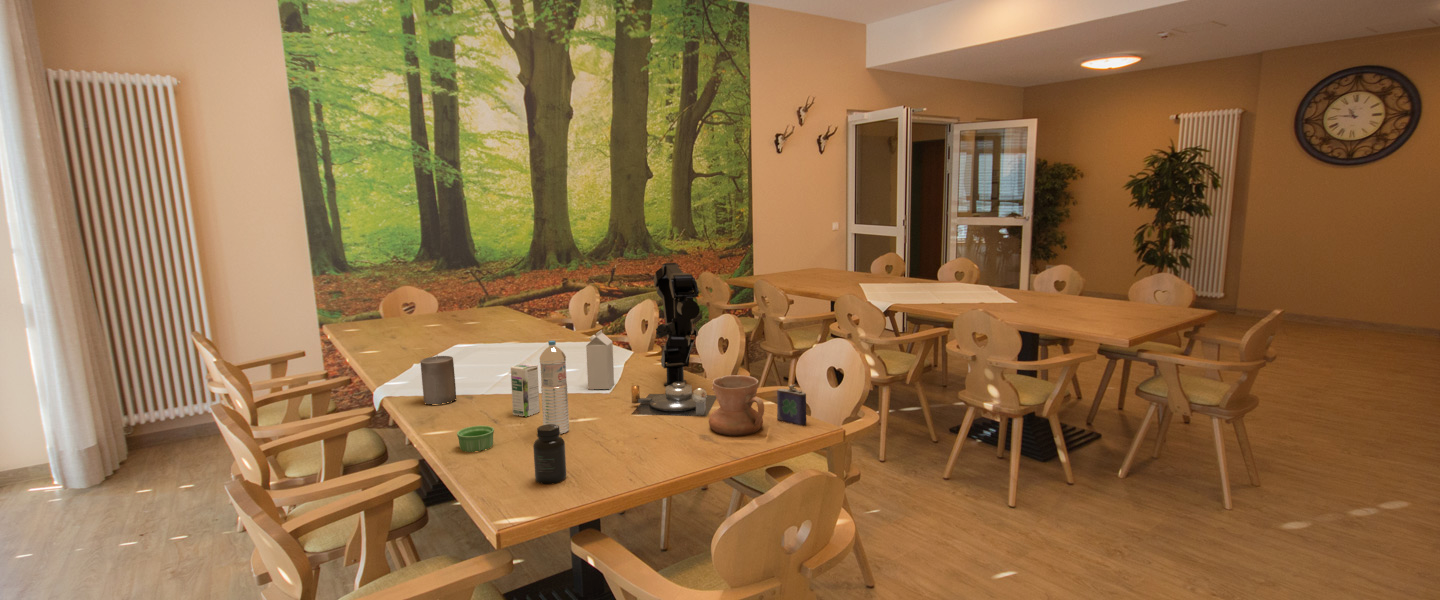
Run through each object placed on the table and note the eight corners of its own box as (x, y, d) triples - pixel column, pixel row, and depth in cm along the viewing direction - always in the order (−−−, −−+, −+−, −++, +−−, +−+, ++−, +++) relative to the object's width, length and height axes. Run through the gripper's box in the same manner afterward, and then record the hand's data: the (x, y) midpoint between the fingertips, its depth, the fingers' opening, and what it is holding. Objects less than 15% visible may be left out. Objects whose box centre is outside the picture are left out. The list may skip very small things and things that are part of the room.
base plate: (649, 396, 227) (649, 393, 227) (718, 398, 224) (718, 395, 224) (631, 417, 205) (630, 414, 205) (706, 419, 202) (706, 416, 202)
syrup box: (512, 415, 210) (509, 366, 208) (526, 409, 215) (523, 362, 213) (526, 417, 207) (524, 368, 205) (540, 412, 212) (538, 364, 210)
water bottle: (560, 426, 199) (556, 337, 196) (574, 431, 194) (570, 340, 191) (538, 431, 194) (533, 341, 191) (552, 437, 189) (547, 344, 186)
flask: (775, 420, 201) (775, 383, 199) (781, 418, 203) (781, 381, 201) (803, 427, 195) (803, 388, 193) (809, 424, 197) (809, 386, 196)
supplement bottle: (545, 471, 166) (542, 421, 164) (571, 474, 164) (569, 423, 162) (529, 483, 159) (526, 431, 157) (556, 486, 157) (554, 433, 155)
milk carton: (614, 384, 243) (612, 329, 240) (609, 390, 236) (606, 333, 233) (593, 384, 243) (591, 329, 241) (587, 390, 236) (585, 333, 234)
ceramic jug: (694, 431, 193) (693, 379, 190) (732, 418, 203) (732, 369, 200) (742, 448, 180) (741, 393, 178) (780, 434, 190) (780, 382, 187)
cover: (668, 392, 223) (668, 379, 222) (694, 393, 222) (693, 380, 221) (663, 399, 215) (662, 386, 214) (689, 400, 214) (689, 386, 213)
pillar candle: (457, 396, 232) (453, 350, 230) (456, 403, 223) (452, 356, 221) (424, 399, 229) (420, 353, 227) (422, 407, 220) (418, 359, 218)
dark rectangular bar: (694, 412, 206) (694, 385, 205) (708, 413, 205) (708, 385, 204) (692, 416, 203) (692, 388, 201) (706, 416, 202) (706, 389, 201)
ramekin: (466, 441, 188) (464, 425, 187) (500, 441, 188) (498, 425, 187) (452, 453, 179) (451, 436, 178) (487, 453, 179) (486, 436, 178)
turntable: (638, 395, 224) (638, 379, 224) (707, 396, 221) (706, 380, 220) (624, 410, 209) (624, 393, 208) (698, 412, 205) (697, 395, 205)
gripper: (664, 309, 235) (665, 356, 237) (650, 319, 216) (652, 369, 219) (698, 309, 233) (698, 356, 235) (687, 319, 215) (688, 370, 217)
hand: (684, 363), depth 227 cm, fingers closed
